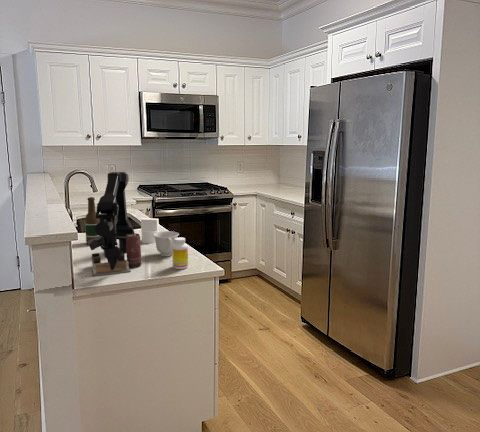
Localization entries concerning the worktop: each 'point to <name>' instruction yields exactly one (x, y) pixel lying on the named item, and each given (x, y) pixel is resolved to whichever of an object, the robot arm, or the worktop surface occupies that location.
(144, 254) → the worktop surface
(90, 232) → the beer bottle
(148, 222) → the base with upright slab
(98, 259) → the post
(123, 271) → the mat
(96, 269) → the rail
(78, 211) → the worktop surface
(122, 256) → the post
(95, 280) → the worktop surface
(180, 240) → the supplement bottle
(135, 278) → the worktop surface
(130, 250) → the can
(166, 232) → the teacup
